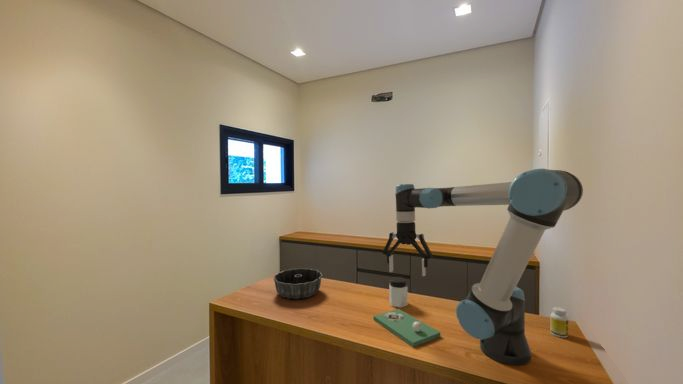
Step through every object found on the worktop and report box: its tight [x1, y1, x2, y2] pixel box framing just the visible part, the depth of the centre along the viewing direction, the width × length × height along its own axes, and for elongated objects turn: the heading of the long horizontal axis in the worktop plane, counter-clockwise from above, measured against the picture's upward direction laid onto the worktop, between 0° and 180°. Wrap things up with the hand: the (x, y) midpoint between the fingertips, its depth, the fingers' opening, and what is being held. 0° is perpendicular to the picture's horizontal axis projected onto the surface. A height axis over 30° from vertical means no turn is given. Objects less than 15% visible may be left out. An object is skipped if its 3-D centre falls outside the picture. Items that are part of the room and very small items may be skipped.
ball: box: [413, 322, 422, 332], centre depth 107 cm, size 4×4×4 cm
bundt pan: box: [273, 267, 323, 300], centre depth 152 cm, size 26×26×10 cm
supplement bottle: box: [549, 306, 569, 339], centre depth 106 cm, size 5×5×10 cm
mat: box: [373, 308, 441, 348], centre depth 113 cm, size 24×14×2 cm, turn 29°
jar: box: [388, 276, 409, 309], centre depth 136 cm, size 9×8×12 cm
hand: (407, 273), depth 114 cm, fingers open, 13 cm apart
